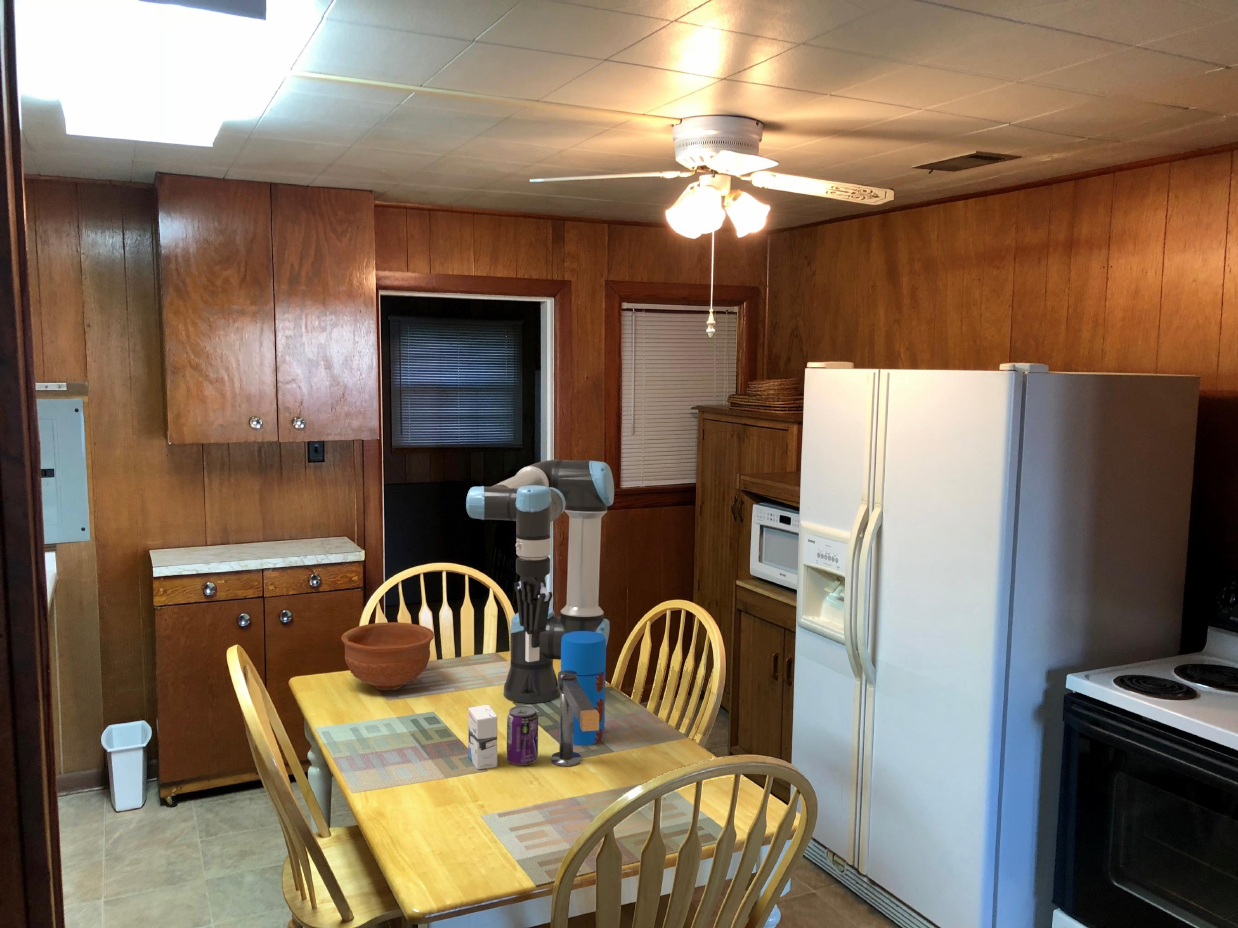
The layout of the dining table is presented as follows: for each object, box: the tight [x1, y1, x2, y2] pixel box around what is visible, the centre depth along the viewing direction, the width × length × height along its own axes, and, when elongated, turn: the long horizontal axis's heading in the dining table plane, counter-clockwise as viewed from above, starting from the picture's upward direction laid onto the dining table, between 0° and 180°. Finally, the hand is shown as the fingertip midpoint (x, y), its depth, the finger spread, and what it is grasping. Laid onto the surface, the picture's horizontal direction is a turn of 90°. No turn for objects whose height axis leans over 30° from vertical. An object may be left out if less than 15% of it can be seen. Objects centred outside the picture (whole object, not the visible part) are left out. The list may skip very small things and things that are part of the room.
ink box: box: [467, 704, 498, 770], centre depth 218 cm, size 8×5×12 cm, turn 23°
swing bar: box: [557, 670, 599, 731], centre depth 207 cm, size 28×4×4 cm, turn 14°
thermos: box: [560, 631, 607, 747], centre depth 233 cm, size 11×11×25 cm
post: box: [550, 690, 582, 768], centre depth 219 cm, size 7×7×16 cm
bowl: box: [341, 621, 435, 691], centre depth 267 cm, size 25×25×15 cm
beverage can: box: [506, 705, 539, 766], centre depth 219 cm, size 7×7×12 cm
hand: (532, 660), depth 214 cm, fingers closed
